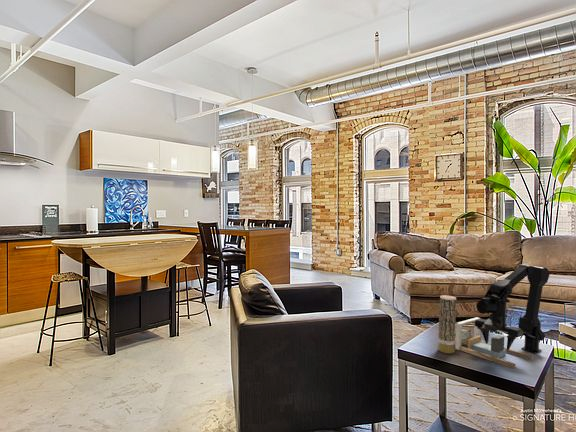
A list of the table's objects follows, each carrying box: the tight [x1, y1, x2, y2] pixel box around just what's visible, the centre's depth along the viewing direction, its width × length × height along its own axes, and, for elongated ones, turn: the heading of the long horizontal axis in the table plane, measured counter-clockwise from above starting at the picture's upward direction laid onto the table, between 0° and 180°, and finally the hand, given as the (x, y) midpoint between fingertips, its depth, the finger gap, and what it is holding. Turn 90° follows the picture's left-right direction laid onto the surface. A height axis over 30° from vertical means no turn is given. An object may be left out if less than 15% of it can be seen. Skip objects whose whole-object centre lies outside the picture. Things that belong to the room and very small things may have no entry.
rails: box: [460, 339, 534, 369], centre depth 169 cm, size 18×23×2 cm
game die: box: [455, 328, 473, 348], centre depth 180 cm, size 9×8×10 cm
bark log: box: [437, 294, 457, 355], centre depth 172 cm, size 7×7×25 cm
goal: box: [454, 316, 481, 351], centre depth 180 cm, size 18×2×12 cm, turn 126°
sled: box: [467, 334, 507, 359], centre depth 173 cm, size 10×13×8 cm
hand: (497, 346), depth 169 cm, fingers open, 9 cm apart
